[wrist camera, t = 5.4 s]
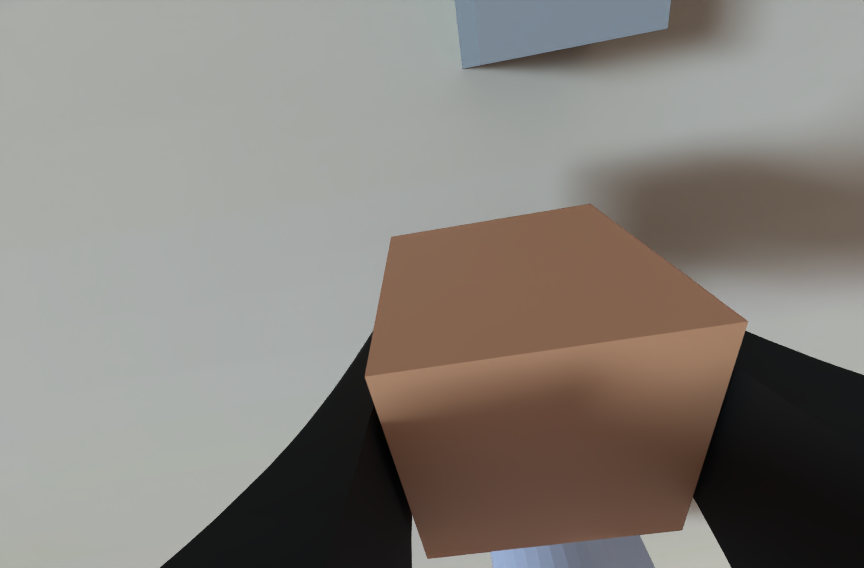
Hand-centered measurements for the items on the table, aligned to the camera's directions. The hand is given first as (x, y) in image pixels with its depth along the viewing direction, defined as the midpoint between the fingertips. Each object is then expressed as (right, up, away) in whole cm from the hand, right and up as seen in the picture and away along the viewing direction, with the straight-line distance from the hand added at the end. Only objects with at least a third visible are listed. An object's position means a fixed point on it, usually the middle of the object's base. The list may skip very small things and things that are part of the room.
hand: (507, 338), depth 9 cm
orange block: (0, +1, +1) cm, 2 cm away
